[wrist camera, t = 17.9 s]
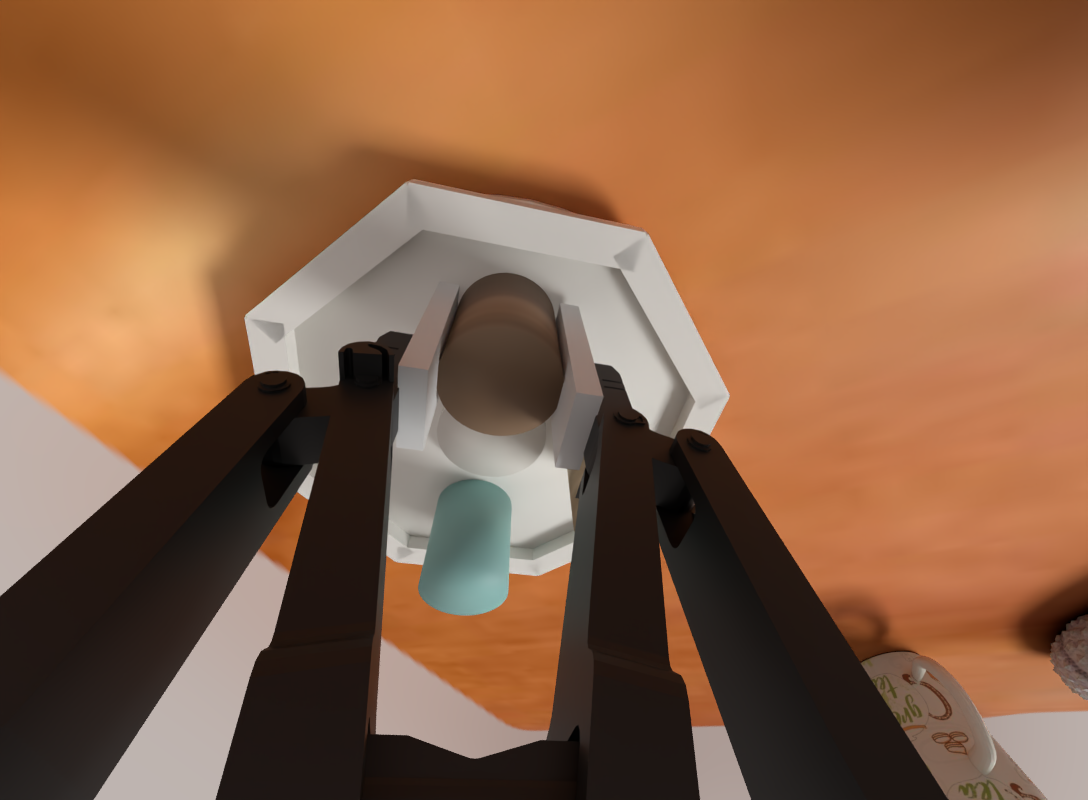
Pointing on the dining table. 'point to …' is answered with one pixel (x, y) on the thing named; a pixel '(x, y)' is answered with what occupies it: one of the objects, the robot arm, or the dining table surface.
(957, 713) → the mug
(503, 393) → the walnut bead
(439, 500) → the teal bead
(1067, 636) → the sea urchin shell
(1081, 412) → the dining table surface
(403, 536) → the groove tray
